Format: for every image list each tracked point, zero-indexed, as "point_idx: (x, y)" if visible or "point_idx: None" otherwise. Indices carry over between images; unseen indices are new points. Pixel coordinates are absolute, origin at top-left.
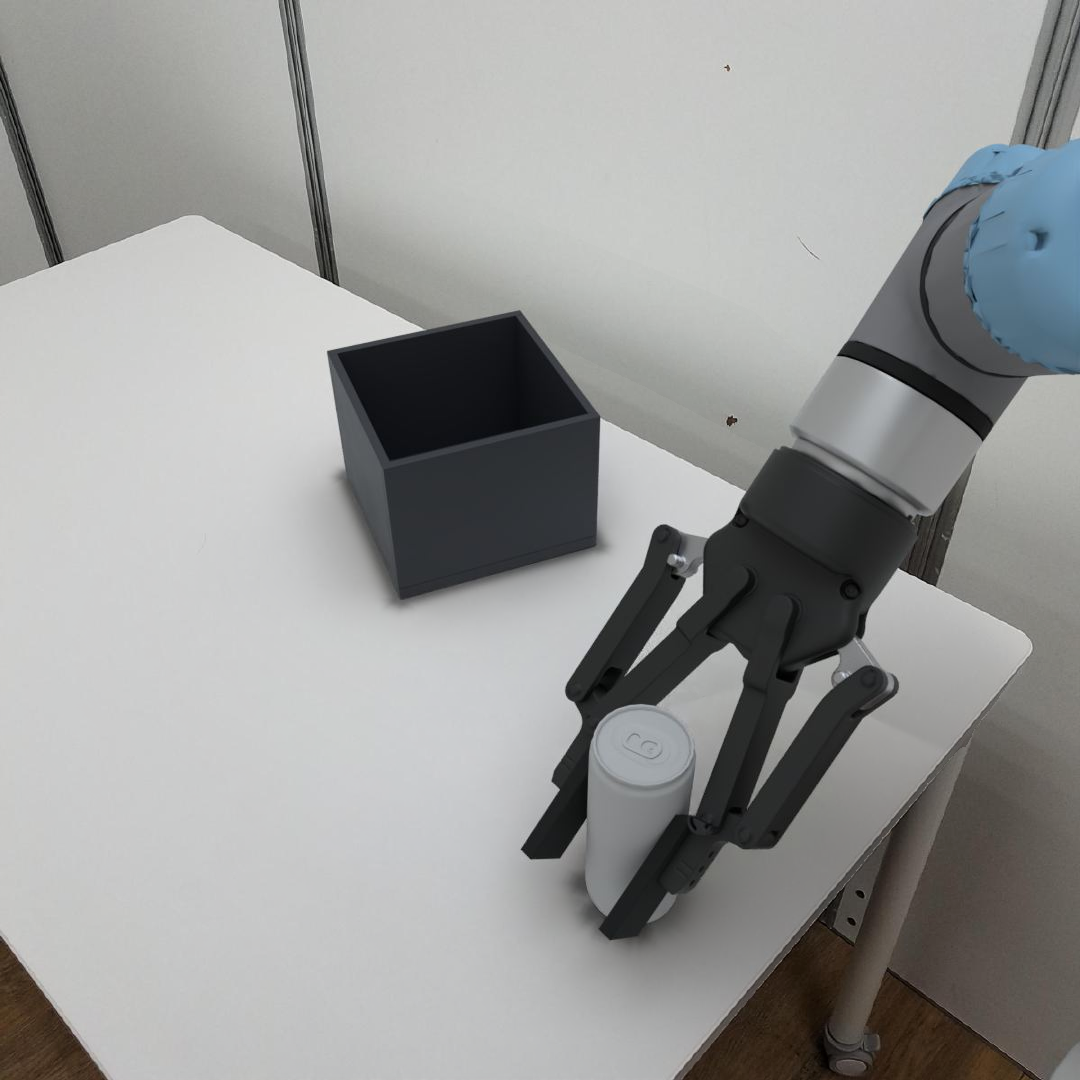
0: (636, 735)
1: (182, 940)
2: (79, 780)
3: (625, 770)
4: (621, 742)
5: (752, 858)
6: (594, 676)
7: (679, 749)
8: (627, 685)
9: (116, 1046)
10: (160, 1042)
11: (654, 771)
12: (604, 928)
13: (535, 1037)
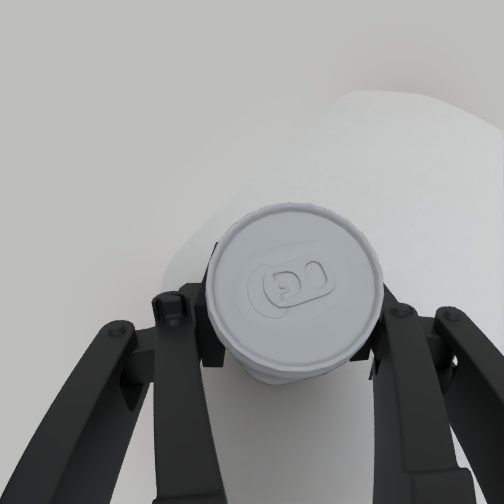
0: (320, 285)
1: (398, 126)
2: (492, 142)
3: (275, 227)
4: (323, 256)
5: (229, 443)
6: (456, 335)
7: (247, 323)
8: (417, 357)
9: (359, 93)
10: (352, 102)
11: (242, 258)
12: None
13: (234, 220)
